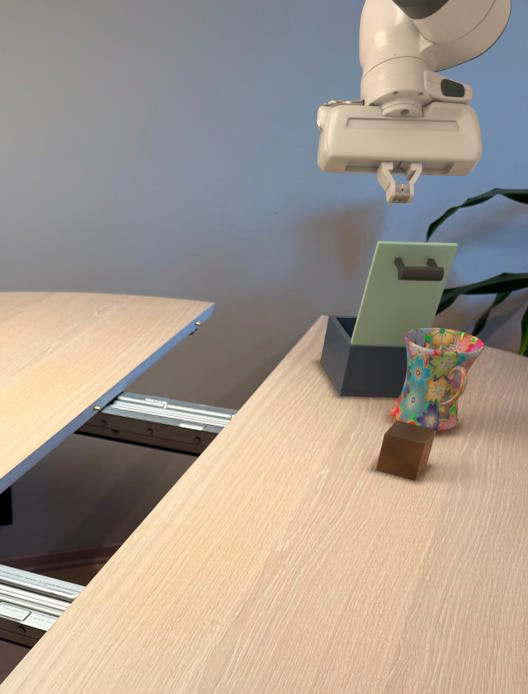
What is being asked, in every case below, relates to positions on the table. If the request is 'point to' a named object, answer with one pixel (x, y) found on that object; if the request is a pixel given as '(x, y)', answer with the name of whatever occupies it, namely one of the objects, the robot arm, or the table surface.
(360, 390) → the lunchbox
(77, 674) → the table surface
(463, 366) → the mug
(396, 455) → the block
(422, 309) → the lid
